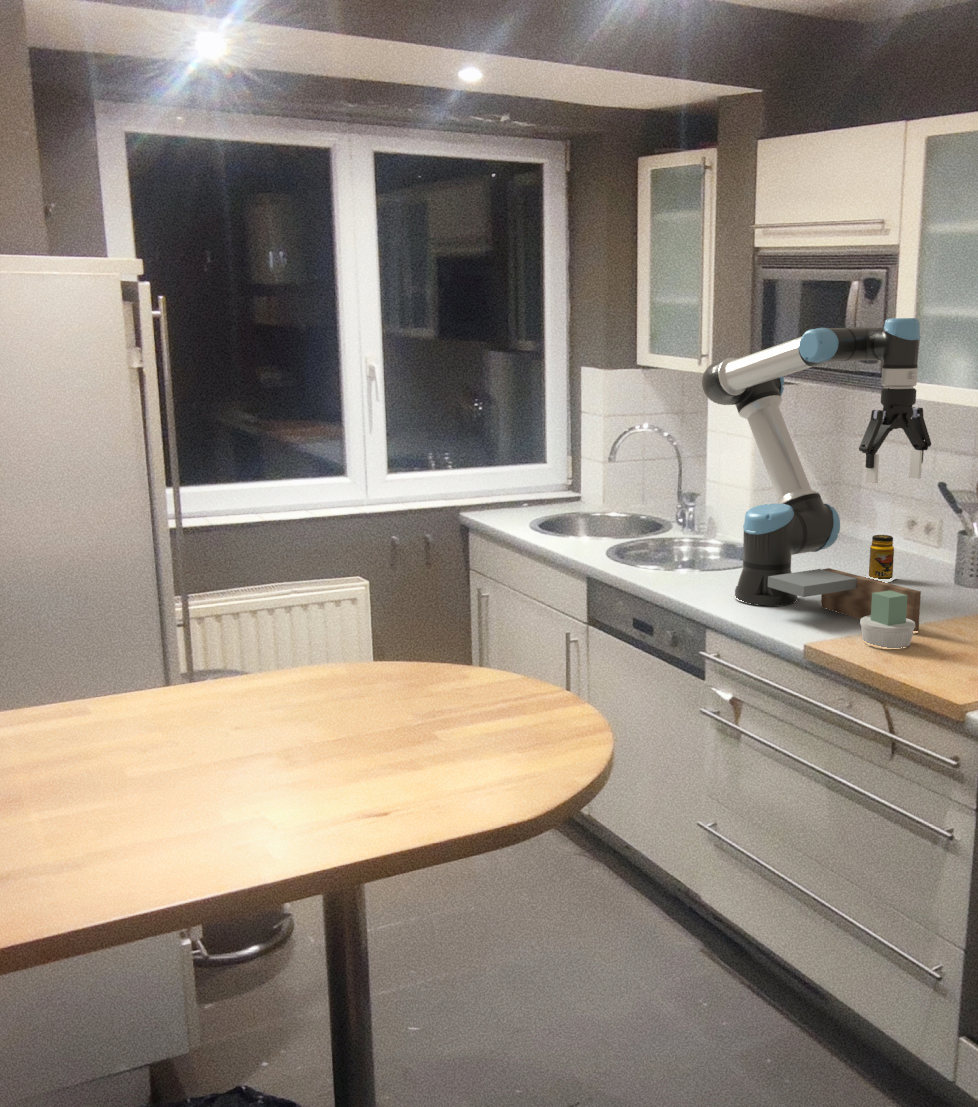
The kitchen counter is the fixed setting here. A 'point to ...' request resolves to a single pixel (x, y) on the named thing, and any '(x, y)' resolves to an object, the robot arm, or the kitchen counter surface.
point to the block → (889, 607)
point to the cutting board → (868, 598)
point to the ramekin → (887, 633)
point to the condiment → (881, 557)
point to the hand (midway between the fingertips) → (893, 480)
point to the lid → (812, 582)
